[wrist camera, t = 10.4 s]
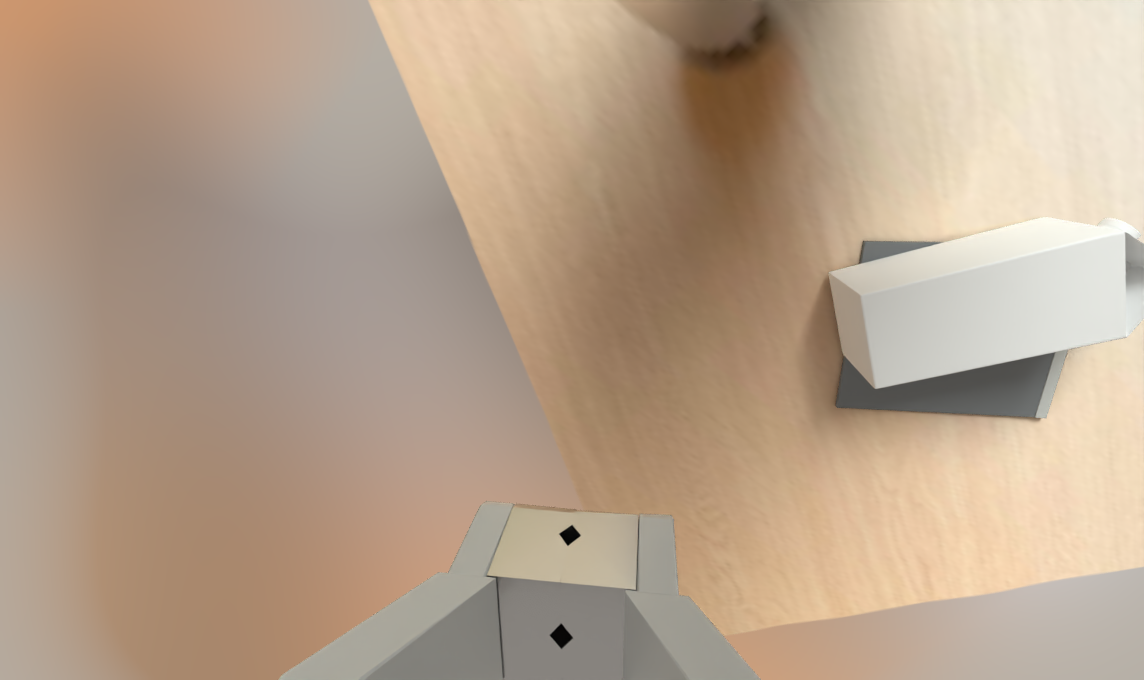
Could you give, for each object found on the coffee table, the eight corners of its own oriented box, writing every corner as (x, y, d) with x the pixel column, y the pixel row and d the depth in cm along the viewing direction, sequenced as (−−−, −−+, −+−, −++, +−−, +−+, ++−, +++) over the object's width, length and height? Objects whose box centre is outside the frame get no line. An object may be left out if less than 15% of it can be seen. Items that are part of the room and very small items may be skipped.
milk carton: (839, 354, 44) (1111, 293, 40) (872, 390, 37) (1203, 322, 33) (825, 272, 42) (1109, 198, 38) (857, 295, 35) (1207, 210, 31)
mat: (863, 241, 41) (865, 242, 41) (1096, 243, 39) (1101, 244, 39) (835, 405, 46) (837, 408, 46) (1041, 415, 44) (1046, 418, 43)
